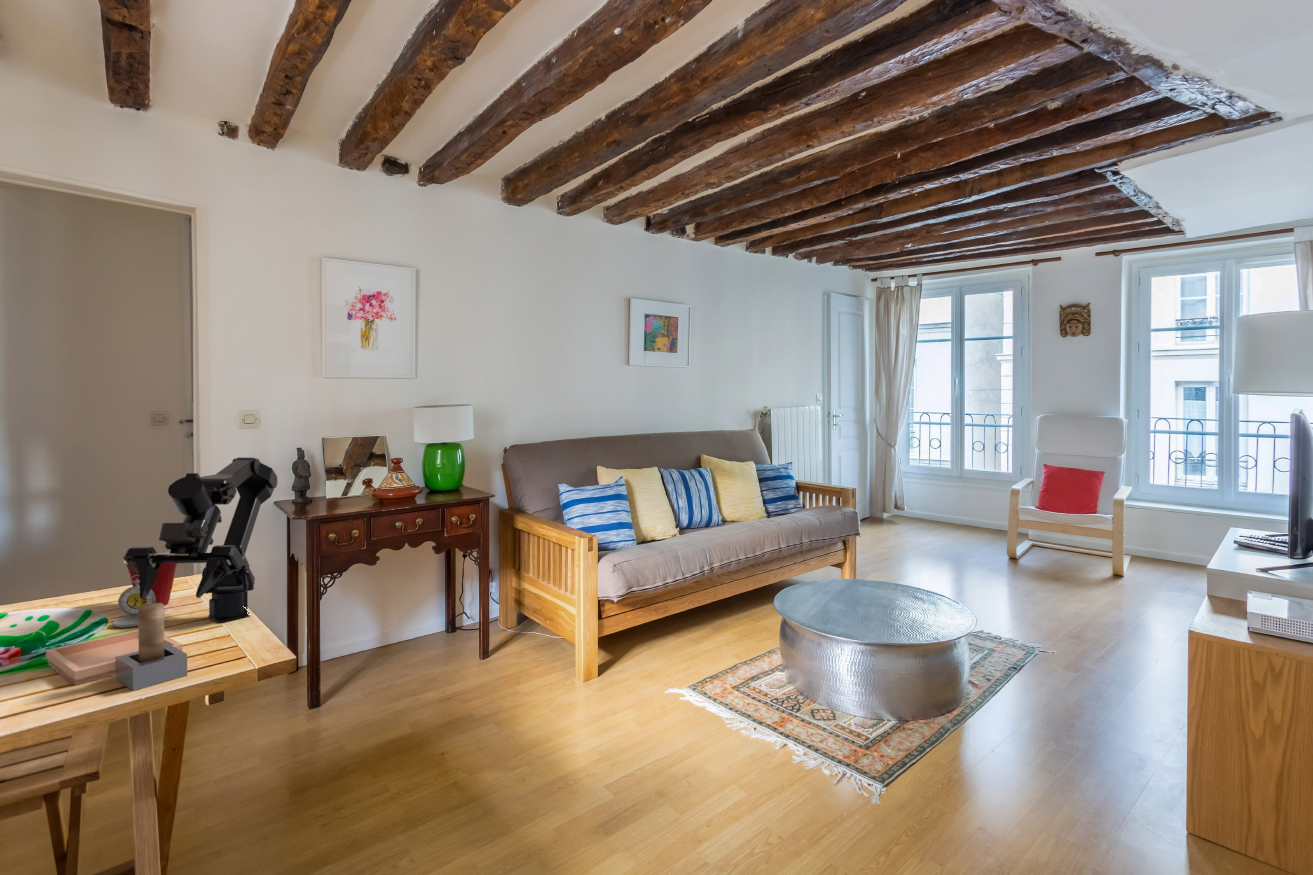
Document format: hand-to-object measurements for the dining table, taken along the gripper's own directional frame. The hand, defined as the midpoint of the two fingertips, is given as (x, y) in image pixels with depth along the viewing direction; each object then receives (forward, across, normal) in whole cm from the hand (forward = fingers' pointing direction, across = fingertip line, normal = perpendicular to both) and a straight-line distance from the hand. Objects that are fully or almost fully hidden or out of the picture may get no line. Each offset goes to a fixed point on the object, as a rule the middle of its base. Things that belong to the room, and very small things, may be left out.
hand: (169, 597), depth 121 cm
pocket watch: (-9, -18, +27) cm, 34 cm away
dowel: (+14, 0, +4) cm, 14 cm away
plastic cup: (-18, -21, +36) cm, 46 cm away
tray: (+7, -10, +11) cm, 17 cm away
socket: (+14, 0, +4) cm, 14 cm away
